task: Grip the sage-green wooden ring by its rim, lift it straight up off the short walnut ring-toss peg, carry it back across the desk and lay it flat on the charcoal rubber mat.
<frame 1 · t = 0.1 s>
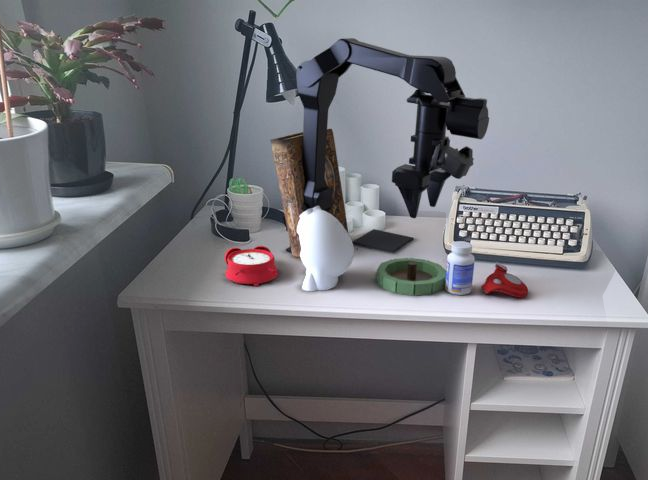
hand: (423, 212, 126), 14 cm above the table, tool pointing down, fingers open, 9 cm apart
ring stand: (411, 281, 130), on the table
ring: (411, 281, 130), on the table
tracker holder: (504, 289, 130), on the table
book: (320, 248, 145), on the table, touching arm
mat: (383, 241, 151), on the table
pill bottle: (457, 291, 128), on the table
alarm clock: (251, 273, 130), on the table
figurine: (326, 281, 129), on the table
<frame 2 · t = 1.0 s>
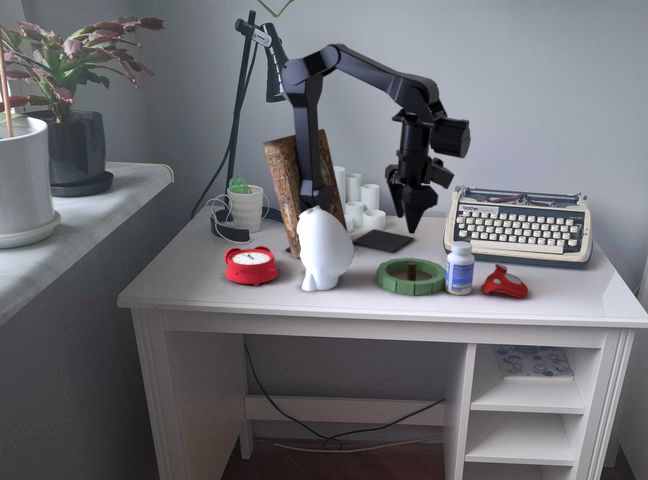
hand: (405, 225, 130), 10 cm above the table, tool pointing down, fingers open, 9 cm apart
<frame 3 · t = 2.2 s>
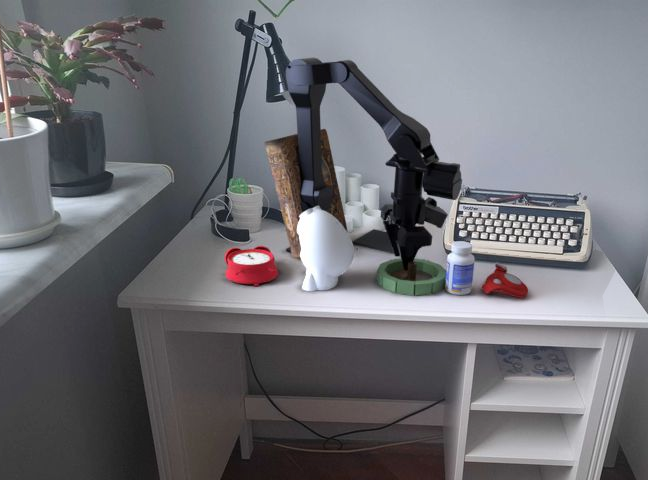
hand: (401, 263, 135), 2 cm above the table, tool pointing down, fingers open, 7 cm apart
nothing on the table moved.
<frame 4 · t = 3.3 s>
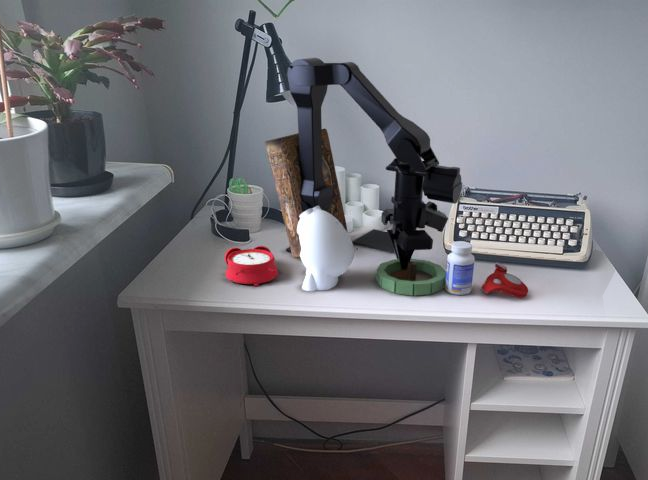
hand: (403, 267, 135), 1 cm above the table, tool pointing down, fingers closed on ring, 2 cm apart
ring: (411, 281, 130), on the table, touching gripper
everything else where it was.
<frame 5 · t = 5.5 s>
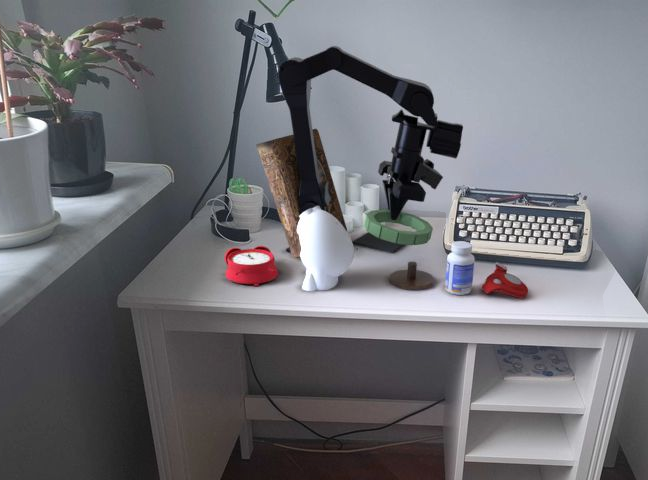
hand: (392, 218, 139), 8 cm above the table, tool pointing down, fingers closed on ring
ring: (397, 232, 134), point 7 cm above the table, tilted 9°, touching gripper
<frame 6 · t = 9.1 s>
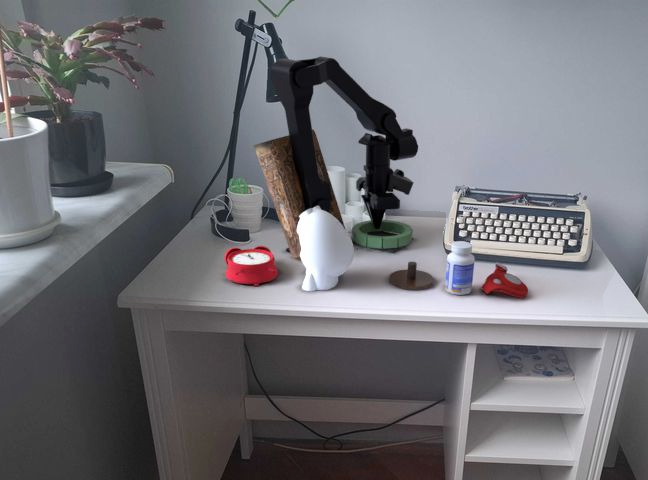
hand: (376, 227, 155), 1 cm above the table, tool pointing down, fingers closed on ring, 2 cm apart
ring: (382, 238, 150), point 1 cm above the table, touching gripper, mat
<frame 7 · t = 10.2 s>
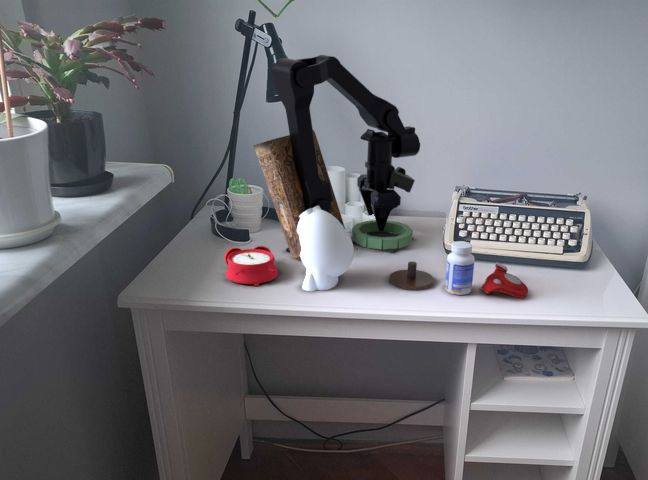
hand: (376, 224, 155), 2 cm above the table, tool pointing down, fingers open, 9 cm apart
ring: (382, 239, 150), point 1 cm above the table, touching mat
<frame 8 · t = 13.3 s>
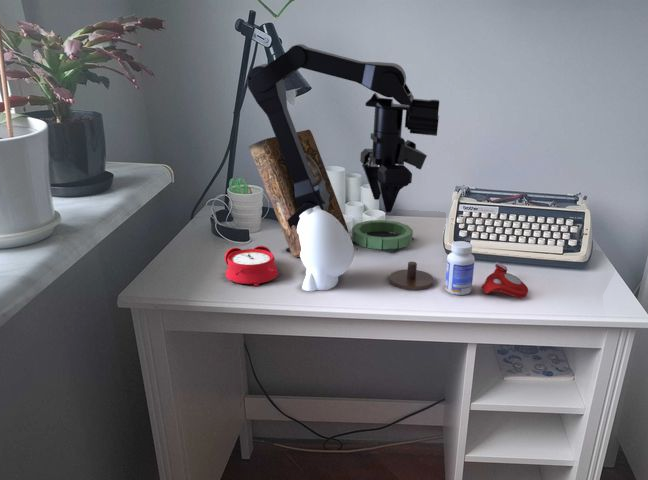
hand: (382, 205, 137), 12 cm above the table, tool pointing down, fingers open, 9 cm apart
at the end: ring inside the target area on the mat (0.3 cm from its centre), point 0.6 cm above the mat's base; the gripper is holding nothing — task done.
